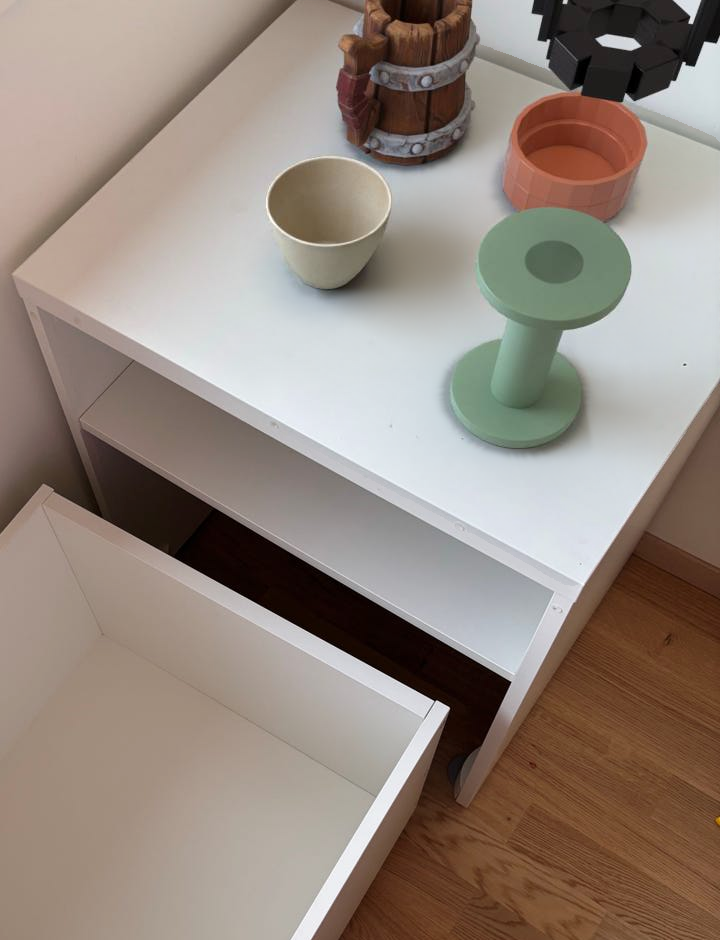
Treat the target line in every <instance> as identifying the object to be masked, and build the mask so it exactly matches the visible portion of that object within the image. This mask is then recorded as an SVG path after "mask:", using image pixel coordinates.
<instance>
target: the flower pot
mask: <svg viewBox="0 0 720 940" xmlns="http://www.w3.org/2000/svg"><path fill="white" fill-rule="evenodd" d="M392 207H393V194H392V190H391V187H390V185H389V183H388V182H387V181H386V179H385V177H384V176H383V174H381V173H380V172H379V171H378V170H376V169H375V168H374V167H372V166H371V165H369V164H367V163H365V162H363V161H361V160H357V159H355V158H351V157H347V156H340V155H322V156H316V157H311V158H307V159H303V160H301V161H298V162H296V163H294V164H292V165H290V166H288V167H287V168H285V169H284V170H283V171H281V172H280V173H279V174H278V175H277V176H276V177H275V178H274V179H273V181H272V182H271V183H270V186H269V187H268V190H267V192H266V197H265V209H266V215H267V220H268V224H269V227H270V230H271V231H270V232H271V233H272V236H273V239H274V242H275V244H276V246H277V248H278V250H279V252H280V254H281V256H282V258H283V259H284V260H285V262H286V263H287V265H288V267H290V268H291V270H292V271H293V272H294V274H295V275H296V276H297V277H298V278H299V279H300V280H301V281H302V282H304V283H305V284H306V285H308V286H310V287H312V288H315V289H318V290H319V289H320V290H333V289H337V288H340V287H343V286H345V285H346V284H348V283H349V282H351V280H352V279H354V278H355V277H356V276H357V275H358V274H359V273H360V272H361V271H362V270H363V268H364V267H365V266H366V264H367V263H368V262H369V260H370V259H371V257H372V256H373V255H374V253H375V251H376V249H377V248H378V246H379V244H380V242H381V240H382V238H383V236H384V233H385V230H386V228H387V226H388V223H389V219H390V215H391V212H392Z"/></svg>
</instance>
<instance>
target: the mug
mask: <svg viewBox="0 0 720 940" xmlns="http://www.w3.org/2000/svg"><path fill="white" fill-rule="evenodd" d="M472 10H473V0H365V3H364V13H363V14H362V16H361V17H360V19H359V20H358V22H357V23H355V25H353V29H352V31H353V33H352V34H351V33H348V34H347V33H346V34H344V35H342V36H341V38H340V39H339V41H338V43H337V47H338V48H339V50H340V51H342V52H343V65H342V67H341V68H339V72H338V76H337V81H336V86H335V89H336V92H337V105H338V109H339V110H340V112H341V119H342V122H343V123H344V125H345V126H346V140H347V141H348V142H349V143H351V144H352V145H354V146H356V147H358V148H359V149H360V150H361V151H362V152H364V153H365V154H368V153H369V152H370V157H372V158H373V159H376V160H379V161H381V162H383V163H386V164H392V165H401V166H411V165H412V166H413V165H418V164H422V163H423V161H424V159H425V160H426V161H427V162H430V161H434V160H436V159H438V158H440V157H443V156H445V155H446V154H447V153H448V152H449V151H451V150H452V149H453V148H455V147H456V146H457V144H458V143H459V141H460V139H461V137H462V136H463V135H464V133H465V131H466V130H467V128H468V126H469V124H470V122H471V118H472V112H473V111H474V110H475V109H476V102H475V101H474V100H473V99H472V90H471V88H470V87H469V85H468V83H467V81H466V77H467V71H468V70H469V68H470V66H471V65H472V63H473V61H474V59H475V57H476V47H477V46H478V45H479V44H480V42H481V36H480V35H479V33H478V32H477V26H476V24H475V22H474V21H473V19H472Z"/></svg>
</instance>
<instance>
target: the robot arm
mask: <svg viewBox="0 0 720 940" xmlns="http://www.w3.org/2000/svg"><path fill="white" fill-rule="evenodd" d="M562 3H563V4H564V0H533V3H532V6H531V13H530V14H531V15H536V16H541V20H540V21H541V22H540V26H539V30H538V35H537V39H536V40H537V42H543V43H547V42H548V40H549V41H550V40H551V38H552V33H553V29H554V26H555V23H556V20H557V17H558V14H559V11H560V9H561V6H562ZM695 13H696V14H695V16H694V20H693V22H692V24H693V26H692V30H691V34H690V38H689V42H688V45H687V49H686V52H685V55H684V58H683V61H682V62H683V63H685V64H684V66H686V67H692V68H695V67H696V65H697V63H698V60H699V57H700V54H701V52H702V50H703V47H704V45H705V44H704V43H708V44H709V43H710V44H715V45H717V44H718V42H719V39H720V0H700V2H699V4H698V7H697V11H696V12H695Z"/></svg>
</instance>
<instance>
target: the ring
mask: <svg viewBox="0 0 720 940" xmlns="http://www.w3.org/2000/svg"><path fill="white" fill-rule="evenodd" d="M690 20H691V15H690V14H689V13H688V12H687V11H686V10H684V9H683V8H682V7H681V6H680V5H679V4H678V3H677V2H676V1H674V0H567V2H566V3H564V2H563V3H562V6H561V9H560V11H559V14H558V17H557V20H556V23H555V26H554V29H553V33H552V38H551V40H549V42H548V47H547V51H546V56H545V60H548V61H549V62H548V66H547V68H548V69H549V70H550V71H551V72H552V73H553V74H554V75H555V76H556V78H557V79H559V80H560V81H561V82H562V84H563V85H564V86H565V87H566V88H567V89H568V90H569V91H573V90H576V89H579V88H581V87H582V88H581V91H580V92H581V96H586V97H591V98H597V99H603V100H608V101H614V102H619V103H621V104H622V103H623V102H624V100H625V97H626V95H627V96H628V97H629V99H631V101H632V102H638V101H640V100H642V99H644V98H647V97H649V96H653V95H655V94H658V93H659V92H662V91H664V90H667V89H669V88H670V86H671V84H672V82H676V81H677V79H678V78H679V77H678V76H679V74H680V71H681V70H682V69H681V68H682V67H683V64H684V62H682V61H683V58H684V55H685V52H686V49H687V45H688V42H689V38H690V34H691V30H692V26H693V23H690ZM606 35H608V36H615V37H622V38H627V39H632V40H634V41H635V42H636V43H637V44H639V47H636V48H633V49H631V50H630V49H624V48H618V47H612V46H606V45H602V44H601V42H600V41H598V39H599V38H601V37H604V36H606Z"/></svg>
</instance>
